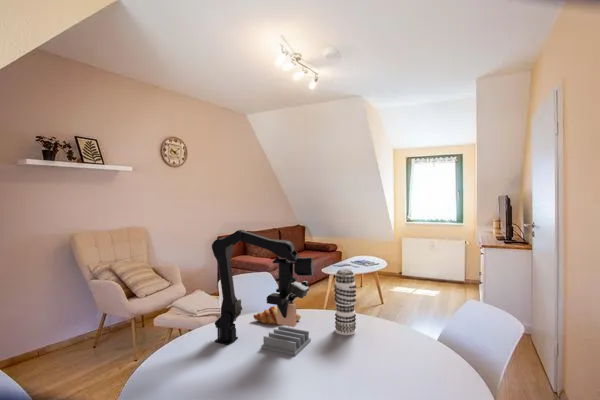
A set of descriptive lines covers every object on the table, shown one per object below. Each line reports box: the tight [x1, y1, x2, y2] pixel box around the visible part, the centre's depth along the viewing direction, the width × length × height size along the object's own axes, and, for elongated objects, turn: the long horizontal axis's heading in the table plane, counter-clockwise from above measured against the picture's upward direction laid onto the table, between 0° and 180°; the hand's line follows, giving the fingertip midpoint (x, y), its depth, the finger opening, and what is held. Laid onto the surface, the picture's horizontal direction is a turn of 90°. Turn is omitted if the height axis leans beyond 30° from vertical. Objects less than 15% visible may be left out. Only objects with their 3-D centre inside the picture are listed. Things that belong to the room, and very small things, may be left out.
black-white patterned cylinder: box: [333, 268, 357, 336], centre depth 135 cm, size 9×9×25 cm
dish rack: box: [260, 325, 312, 357], centre depth 122 cm, size 14×13×4 cm
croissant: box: [253, 305, 302, 325], centre depth 146 cm, size 21×10×8 cm, turn 93°
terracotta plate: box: [276, 302, 297, 328], centre depth 122 cm, size 7×2×8 cm, turn 64°
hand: (286, 316), depth 122 cm, fingers closed on terracotta plate, 2 cm apart
